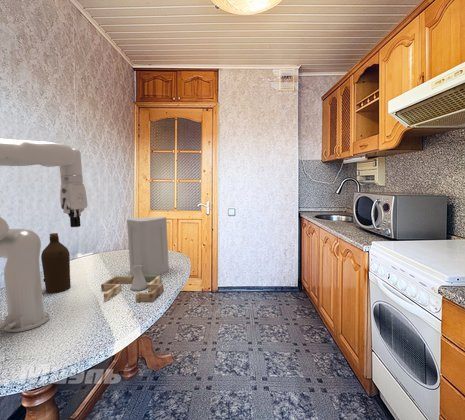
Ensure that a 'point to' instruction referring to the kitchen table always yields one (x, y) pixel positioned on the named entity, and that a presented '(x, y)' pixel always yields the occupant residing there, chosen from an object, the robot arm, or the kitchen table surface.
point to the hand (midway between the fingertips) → (75, 226)
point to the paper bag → (148, 245)
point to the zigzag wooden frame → (115, 288)
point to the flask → (138, 280)
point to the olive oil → (56, 266)
